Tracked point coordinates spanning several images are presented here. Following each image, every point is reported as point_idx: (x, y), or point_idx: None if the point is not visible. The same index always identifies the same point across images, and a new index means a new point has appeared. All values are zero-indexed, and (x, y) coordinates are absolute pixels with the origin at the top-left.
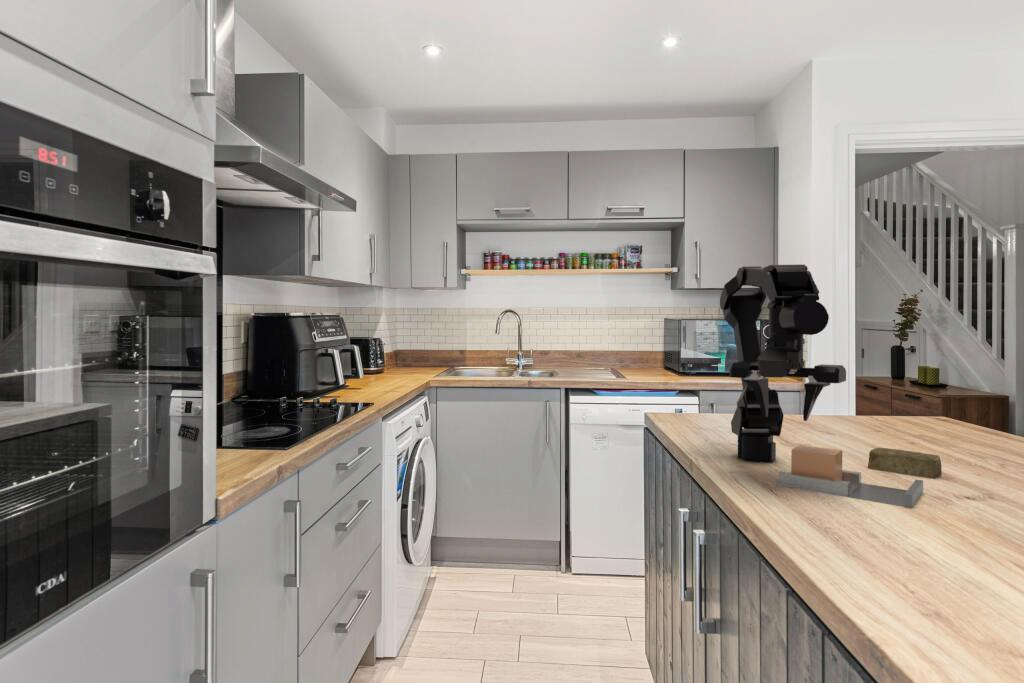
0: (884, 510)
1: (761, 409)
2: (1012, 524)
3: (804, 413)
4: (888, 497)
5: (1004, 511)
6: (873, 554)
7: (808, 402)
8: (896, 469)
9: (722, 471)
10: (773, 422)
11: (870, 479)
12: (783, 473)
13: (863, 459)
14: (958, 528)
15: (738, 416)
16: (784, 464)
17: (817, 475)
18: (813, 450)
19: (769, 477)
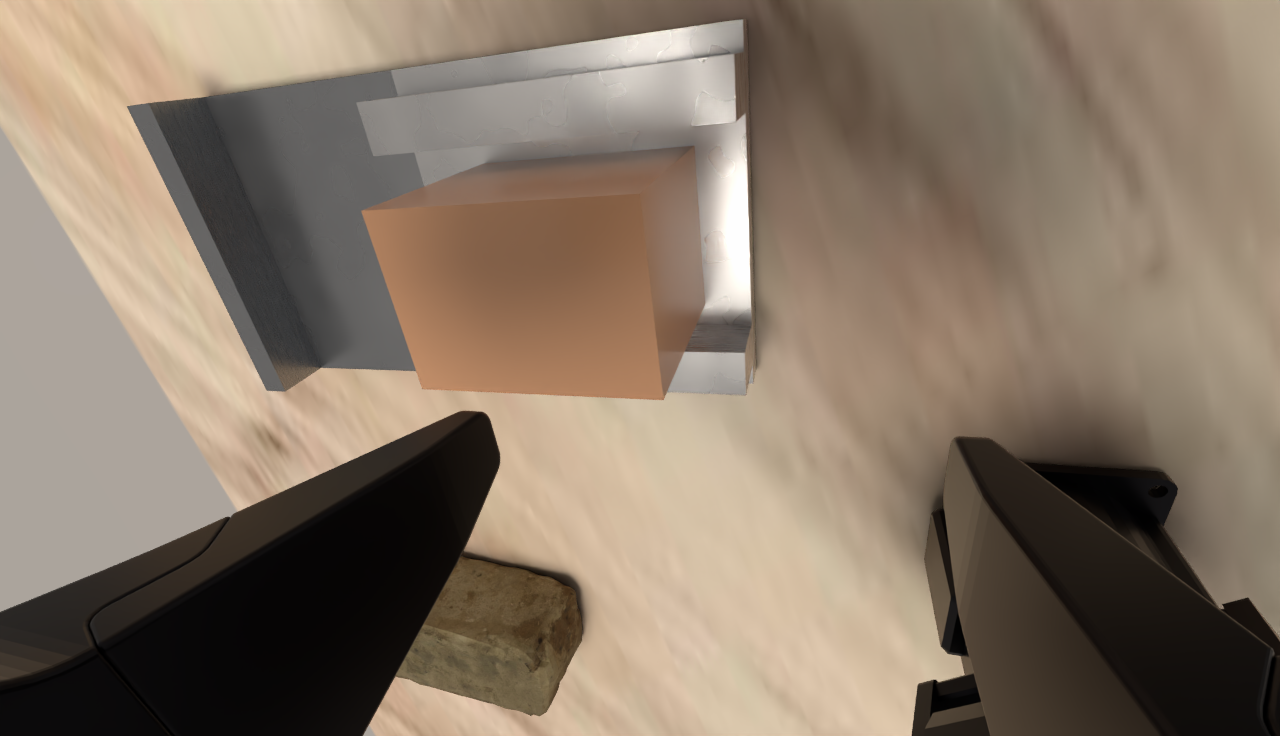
0: (278, 76)
1: (1059, 492)
2: (66, 224)
3: (419, 447)
4: (312, 211)
5: (158, 353)
6: None
7: (232, 527)
8: (473, 582)
9: (1230, 250)
10: (963, 728)
11: (532, 505)
12: (699, 63)
13: (660, 731)
14: (57, 33)
15: None
16: (886, 576)
17: (532, 171)
18: (518, 272)
19: (880, 298)
